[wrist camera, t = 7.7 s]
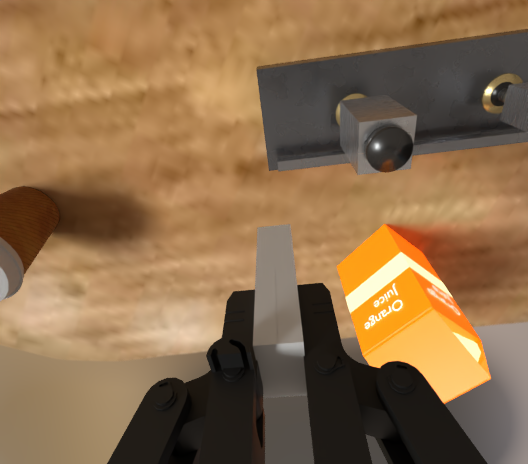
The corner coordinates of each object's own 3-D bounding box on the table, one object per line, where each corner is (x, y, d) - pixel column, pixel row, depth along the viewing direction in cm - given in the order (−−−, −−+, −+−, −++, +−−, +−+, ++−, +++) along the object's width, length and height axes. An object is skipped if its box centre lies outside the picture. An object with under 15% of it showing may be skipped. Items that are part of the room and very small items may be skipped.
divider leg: (378, 89, 31) (422, 119, 23) (375, 132, 33) (415, 174, 25) (334, 95, 31) (362, 126, 23) (335, 136, 34) (360, 180, 25)
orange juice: (335, 266, 46) (377, 410, 29) (384, 222, 42) (464, 359, 26) (374, 291, 49) (433, 436, 32) (423, 252, 45) (519, 394, 28)
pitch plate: (559, 24, 31) (722, 31, 20) (526, 132, 36) (640, 184, 25) (256, 66, 32) (254, 93, 22) (268, 163, 38) (271, 224, 27)
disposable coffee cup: (3, 157, 37) (-92, 210, 27) (85, 204, 41) (27, 266, 31) (-19, 215, 41) (-109, 279, 31) (57, 253, 45) (-2, 322, 35)
